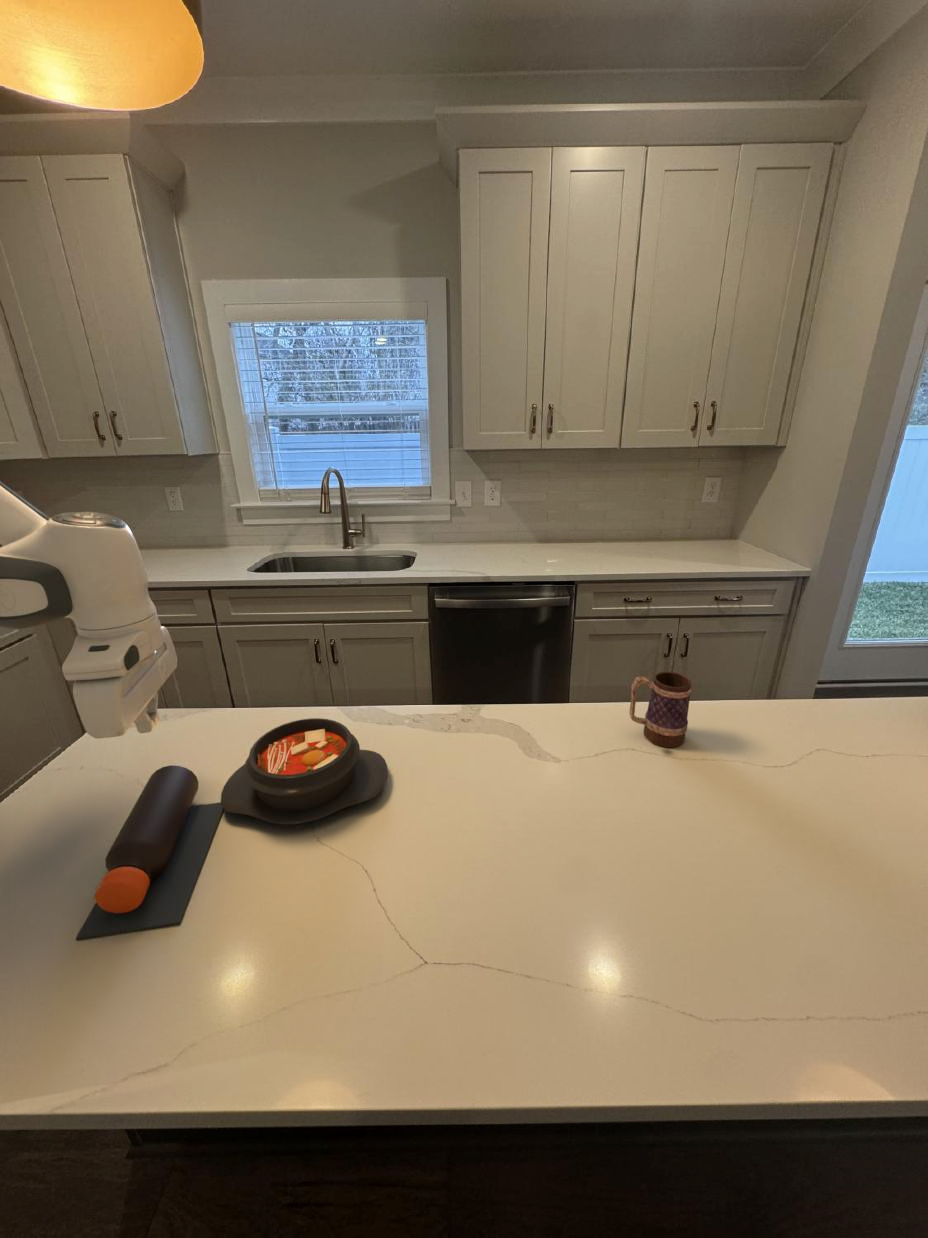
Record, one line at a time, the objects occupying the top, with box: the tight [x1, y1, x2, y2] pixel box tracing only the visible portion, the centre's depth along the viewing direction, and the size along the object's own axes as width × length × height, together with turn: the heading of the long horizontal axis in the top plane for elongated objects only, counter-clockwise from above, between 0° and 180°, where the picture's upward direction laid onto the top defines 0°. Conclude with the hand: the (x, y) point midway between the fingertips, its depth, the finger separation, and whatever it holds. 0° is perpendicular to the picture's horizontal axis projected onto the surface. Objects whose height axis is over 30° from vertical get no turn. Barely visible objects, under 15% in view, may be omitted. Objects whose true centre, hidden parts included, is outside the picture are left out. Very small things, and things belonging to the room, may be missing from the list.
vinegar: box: [94, 764, 199, 913], centre depth 67 cm, size 7×7×20 cm
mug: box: [628, 671, 692, 748], centre depth 89 cm, size 10×7×12 cm
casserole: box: [220, 717, 389, 825], centre depth 78 cm, size 25×19×8 cm
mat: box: [75, 801, 225, 941], centre depth 67 cm, size 11×20×1 cm, turn 9°
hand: (149, 727), depth 71 cm, fingers closed
